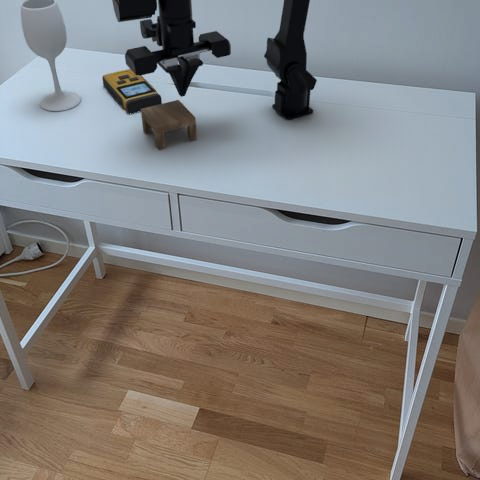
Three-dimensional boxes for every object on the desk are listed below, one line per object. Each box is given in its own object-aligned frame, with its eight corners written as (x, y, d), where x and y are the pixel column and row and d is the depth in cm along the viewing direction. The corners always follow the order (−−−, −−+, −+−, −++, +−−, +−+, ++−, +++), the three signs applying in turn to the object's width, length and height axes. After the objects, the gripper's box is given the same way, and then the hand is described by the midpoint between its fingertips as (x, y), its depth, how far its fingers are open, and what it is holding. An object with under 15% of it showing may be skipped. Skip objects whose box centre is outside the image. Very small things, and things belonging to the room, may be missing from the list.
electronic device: (136, 79, 136) (134, 65, 134) (164, 107, 126) (162, 92, 124) (101, 87, 133) (99, 73, 131) (127, 116, 123) (125, 101, 121)
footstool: (178, 99, 117) (140, 109, 114) (195, 117, 112) (156, 127, 109) (180, 121, 120) (143, 131, 118) (196, 139, 115) (158, 150, 112)
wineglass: (87, 95, 129) (69, -3, 115) (69, 113, 123) (47, 12, 109) (52, 90, 131) (29, -7, 117) (32, 109, 125) (6, 8, 111)
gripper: (204, -10, 111) (207, 69, 121) (109, 8, 104) (121, 89, 114) (231, 9, 103) (232, 91, 114) (130, 29, 97) (141, 114, 107)
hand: (181, 95), depth 112 cm, fingers closed
